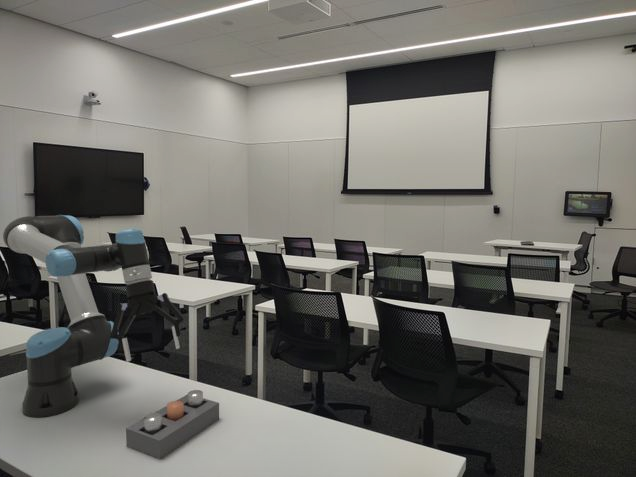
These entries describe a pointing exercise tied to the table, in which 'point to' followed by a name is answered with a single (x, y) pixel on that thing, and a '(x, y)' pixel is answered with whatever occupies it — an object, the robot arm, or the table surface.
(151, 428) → the steel button near
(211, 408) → the button console
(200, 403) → the steel button far
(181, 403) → the terracotta button
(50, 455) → the table surface
